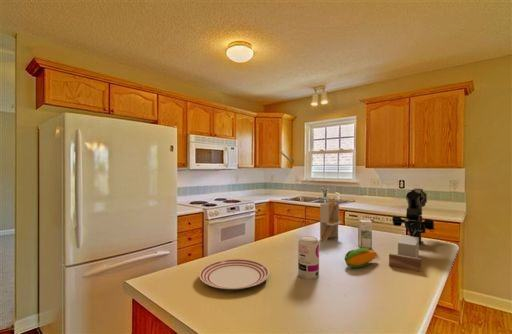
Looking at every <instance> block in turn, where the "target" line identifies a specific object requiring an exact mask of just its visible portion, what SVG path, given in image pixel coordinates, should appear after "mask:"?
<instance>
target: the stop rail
mask: <svg viewBox="0 0 512 334" xmlns="http://www.w3.org/2000/svg"><path fill="white" fill-rule="evenodd" d="M388 266H390V267H395V268H399V269H405V270H410V271H415V272H419V273H420V272H421V271H422V258H420V257H418V258H416V257H410V256H404V255H398V253H391V252H389V254H388Z"/></svg>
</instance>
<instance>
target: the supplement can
mask: <svg viewBox="0 0 512 334" xmlns="http://www.w3.org/2000/svg"><path fill="white" fill-rule="evenodd" d="M297 249H298V250H297V254H298V255H297V258H298V259H297V267H298V268H297V269H298V270H297V273H298V276H300V277H301V278H303V279H306V280H307V279H308V280H312V279H313V280H314V279H317V278H318V277H319V275H320V251H319V250H320V242H319V240H318V238H317V237H315V236H309V235H306V236H305V235H303V236H300V237H299V239H298V242H297Z"/></svg>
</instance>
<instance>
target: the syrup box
mask: <svg viewBox="0 0 512 334" xmlns="http://www.w3.org/2000/svg"><path fill="white" fill-rule="evenodd" d="M357 223H358V225H357V244H358V247H359V248H360V249H361V248H369V249H372V248H373V247H372V246H373V245H372V244H373V221H372V220H370V219H358V220H357Z"/></svg>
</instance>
